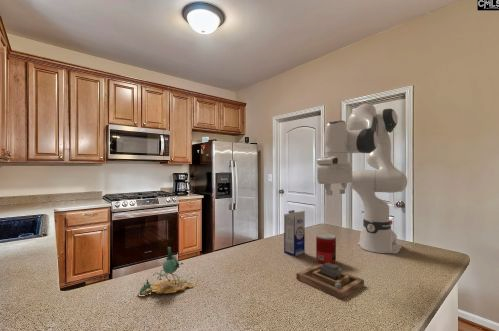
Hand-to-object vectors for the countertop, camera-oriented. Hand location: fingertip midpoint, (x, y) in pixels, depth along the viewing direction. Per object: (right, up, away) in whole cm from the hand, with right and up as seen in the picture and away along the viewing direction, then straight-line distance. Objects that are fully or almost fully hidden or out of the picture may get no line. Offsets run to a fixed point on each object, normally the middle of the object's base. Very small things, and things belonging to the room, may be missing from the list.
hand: (336, 194), depth 100 cm
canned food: (-2, -29, +6) cm, 30 cm away
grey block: (-6, -29, -13) cm, 32 cm away
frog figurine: (-62, -29, -19) cm, 71 cm away
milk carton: (-14, -29, +15) cm, 36 cm away
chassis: (-6, -29, -13) cm, 32 cm away
